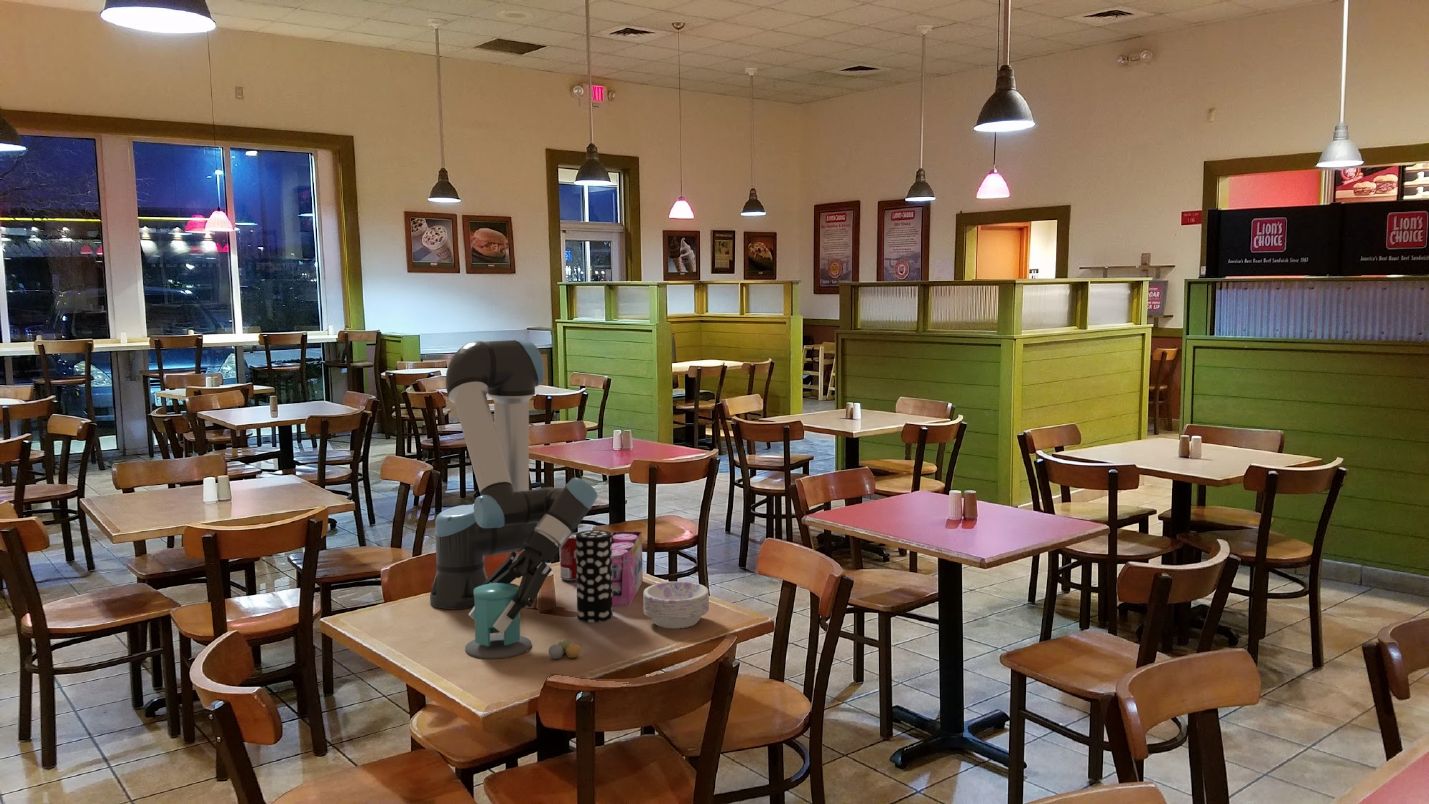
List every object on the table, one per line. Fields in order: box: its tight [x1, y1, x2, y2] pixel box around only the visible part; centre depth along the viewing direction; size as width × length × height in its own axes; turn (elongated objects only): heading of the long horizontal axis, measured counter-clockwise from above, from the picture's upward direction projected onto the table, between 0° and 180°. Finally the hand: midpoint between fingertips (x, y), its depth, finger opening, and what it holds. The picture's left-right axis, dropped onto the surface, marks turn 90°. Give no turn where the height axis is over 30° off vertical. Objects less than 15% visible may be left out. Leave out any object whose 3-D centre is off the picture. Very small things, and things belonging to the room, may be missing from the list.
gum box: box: [611, 530, 644, 607], centre depth 262 cm, size 24×8×14 cm, turn 176°
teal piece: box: [474, 582, 521, 646], centre depth 222 cm, size 10×10×11 cm
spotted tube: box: [576, 529, 614, 623], centre depth 243 cm, size 8×8×20 cm
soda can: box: [559, 532, 578, 582], centre depth 276 cm, size 7×7×12 cm
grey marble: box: [548, 643, 564, 660], centre depth 215 cm, size 3×3×3 cm
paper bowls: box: [642, 581, 710, 630], centre depth 239 cm, size 15×15×8 cm
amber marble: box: [565, 643, 581, 659], centre depth 216 cm, size 3×3×3 cm
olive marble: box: [557, 639, 572, 655], centre depth 219 cm, size 3×3×3 cm
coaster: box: [464, 633, 532, 660], centre depth 222 cm, size 14×14×1 cm
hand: (485, 624), depth 220 cm, fingers closed on teal piece, 10 cm apart
